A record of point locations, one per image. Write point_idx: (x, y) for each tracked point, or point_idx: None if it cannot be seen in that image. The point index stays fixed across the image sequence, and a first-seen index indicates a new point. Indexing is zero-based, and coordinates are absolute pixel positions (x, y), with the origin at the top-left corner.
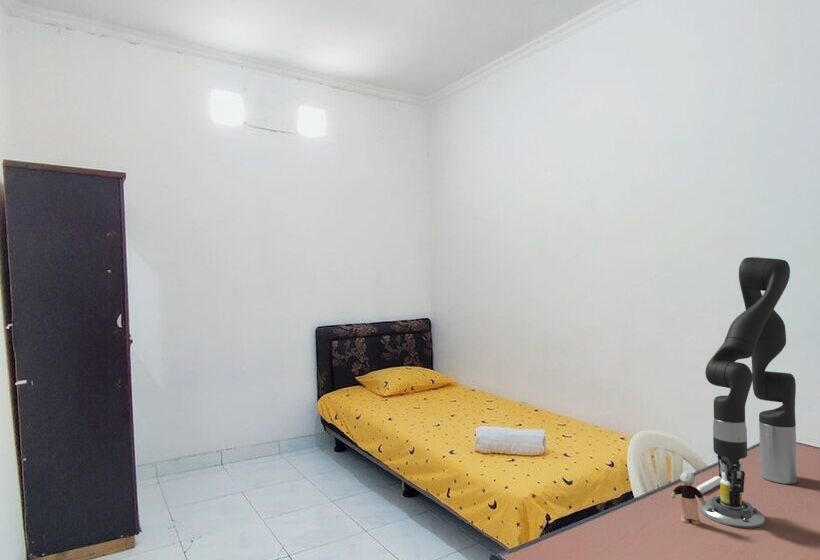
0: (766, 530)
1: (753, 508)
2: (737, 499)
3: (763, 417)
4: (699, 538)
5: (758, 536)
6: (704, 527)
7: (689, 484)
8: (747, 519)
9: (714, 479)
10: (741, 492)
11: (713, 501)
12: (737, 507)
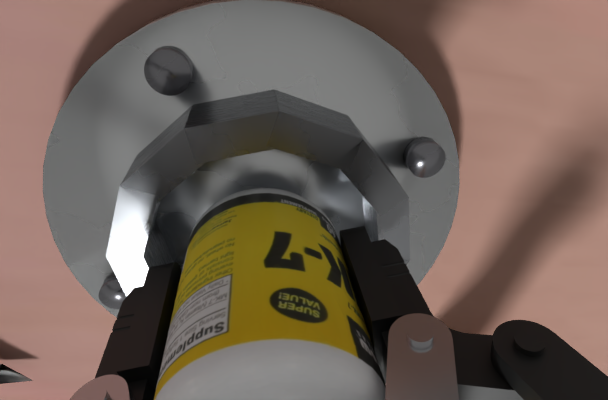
0: (439, 13)
1: (162, 78)
2: (410, 283)
3: None
4: (596, 328)
5: (547, 86)
6: (482, 317)
7: None
8: (435, 152)
9: None
10: (292, 274)
11: None
12: (331, 224)
